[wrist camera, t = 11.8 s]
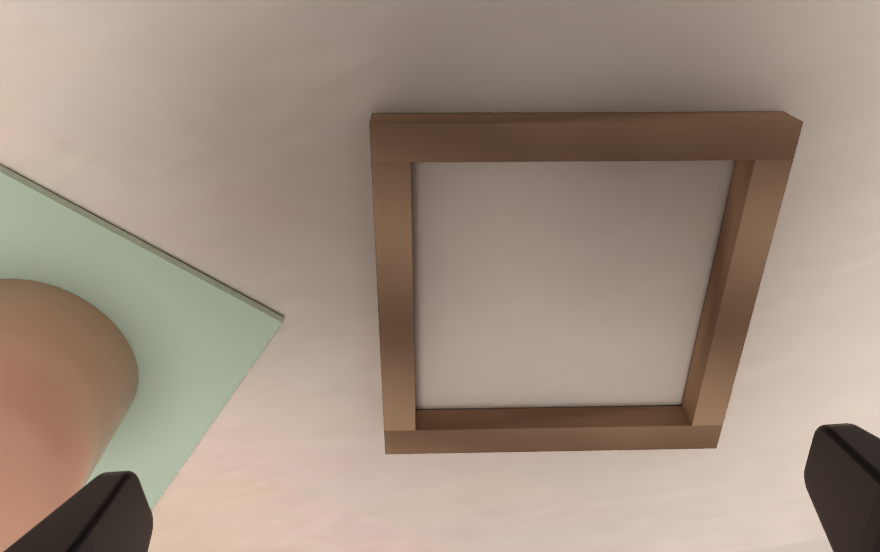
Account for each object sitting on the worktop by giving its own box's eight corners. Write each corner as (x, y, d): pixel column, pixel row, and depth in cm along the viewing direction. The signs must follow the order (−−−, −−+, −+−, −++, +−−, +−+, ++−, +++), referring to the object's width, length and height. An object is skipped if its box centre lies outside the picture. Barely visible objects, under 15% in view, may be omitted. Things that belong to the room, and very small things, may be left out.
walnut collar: (371, 113, 18) (369, 124, 17) (784, 111, 18) (803, 121, 17) (386, 433, 23) (385, 454, 22) (705, 427, 23) (716, 448, 22)
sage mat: (-94, 114, 17) (-102, 117, 17) (284, 317, 21) (282, 322, 20) (-188, 394, 21) (-196, 400, 21) (138, 526, 25) (135, 533, 24)
